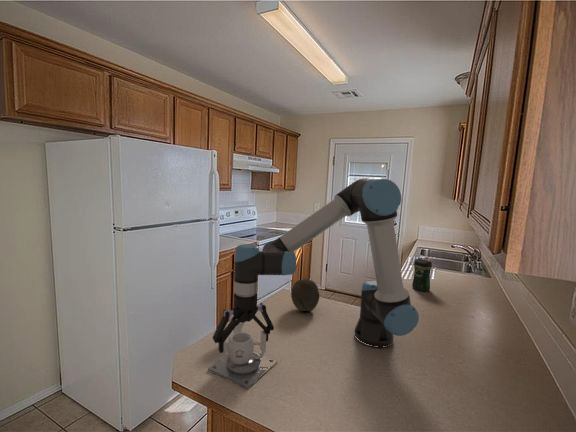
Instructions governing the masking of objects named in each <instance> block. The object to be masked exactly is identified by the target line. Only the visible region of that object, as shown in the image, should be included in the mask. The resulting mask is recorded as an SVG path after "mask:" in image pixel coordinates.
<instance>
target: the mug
mask: <svg viewBox="0 0 576 432" xmlns="http://www.w3.org/2000/svg"><path fill="white" fill-rule="evenodd" d="M255 345H258V346H259V347H260V346H261V348H262V350H261V353H260V354H261V356H259V357H256V356H254V355H252V354H253V351H254V350H255V349H254V347H255ZM227 355H229V358H230V360H231V361H232V362H233V363H234V364H237V365H242V364H246V363H247V362H248V361H249V360H250V359H251V357H253V358H254V359H260V358H262V357H263V355H265V353H264V347H263V346H262V344H261V343H260V342H257V341H256V342H255V341H254V338H253V335H252V334H250V333H248V332H245V331H244V332H243V331H241V332H238V333H233V334H230V335H229V337H228V341H227Z"/></svg>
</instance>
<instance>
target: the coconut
mask: <svg viewBox="0 0 576 432" xmlns="http://www.w3.org/2000/svg"><path fill="white" fill-rule="evenodd" d="M290 295H291V296H290V297H291V301H292V304H293V305H294V307H295V308H296V309H298V311H300V310H301V311H300V312H302V311H310V312H312V311H314V310H315V309H316V307H317V305H319V301H320V291H319V286H318V284H317V283H316V282H315V281H314V280H313V279H309V278H308V279H306V278H304V279H303V278H302V279H299V280H297V281H296V282H294V284H293V286H292V288H291V292H290Z"/></svg>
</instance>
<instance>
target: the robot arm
mask: <svg viewBox="0 0 576 432" xmlns="http://www.w3.org/2000/svg"><path fill="white" fill-rule="evenodd" d="M401 203H402V194H401V190H400V188H399V187H398V185H397V184H396V183H395V182H393V181H392V180H391V179H388V178H384V177H380V176H378V177H370V178H365V177H364V178H359V179H357V180H355V181H353V182H352V183H350V184H349V185H347V186H346V187H344V189H342V190H341V191H340V192H337V193H336V194H335V195H334V197H333V200H331V201H330V202H328V203H327V204H325V205H324V206H322V207H321V208H320V209H318V210H316V211H315V212H314V213H313V214H310V215H309V216H308V217H306V218H304V220H302V221H301V222H299V223H298V224H296V225H294V227H292V228H291V229H289V230H288V231H287V232H285V233H283V234H282V235H280V236H279V237H278V238H276V239H275V240H273V241H268V242H266V243H265V244H264V245H263V247H262V251H260V247H259V246H258V245H257V244H254V243H252V244H251V243H246V244H245V243H243V244H239V245H237V246H236V247H235V251H234V263H233V264H234V265H233V266H234V269H233V270H234V271H233V272H234V277H233V278H234V279H233V280H234V281H233V292H234V293H233V308H232V309H231V310H230V309H229V310H228V309H226V308H225V309H223V313H222V317H221V319H220V320H219V321H220V322H219V324H218V325H217V327H216V329H215V331H214V334H213V336H212V340H213V341H214V344H218V352H219V353H220V356H221V357H220V359H221V360H222V361H223V363H226V355H227V342H226V340H227V339H229V337H230V336H231V335H232V334H231V333H233V330H234V328H235V327H236V326H237V325H238V324H239V323H240V322H241V323H244V322H245V323H247V322H251V321H252V320H253V321H254V322H255V323H257V325H258V326H259V327H260V328H261V329H262V330H260V342H259V343H261V344H262V346H263V347H264V354H265V353H267V351H266V349H267V342H269V335H270V334H271V331H274V329H275V327H274V325H273V322H272V321H271V318H270V316H269V314H268V311H267V306H266V304H265V303H263V302H260V304H259V305H258V290H259V289H258V287H259V276H283V277H285V276H292V275H294V274H295V273H296V271H297V256H296V253H295V252H296V251H297V250H299V249H300V248H302V247H304V246H305V245H306V244H307V243H309V242H311V241H312V240H314V239H315V238H317V237H318V236H319V235H321V234H322V233H324V232H325V231H327V230H328V229H330V228H331V227H332V226H334V225H335V224H337V223H338V222H339V221H341V220H342V219H344V218H345V217H352V216H353V215H355V214H356V213H360V220H361V222H362V223H363V224H365V225H366V227H367V234H368V239H369V245H370V251H371V258H372V263H373V269H374V275H375V280H367V281H364V282H363V283H362V285H361V292H360V293H361V295H360V312H359V318H358V321H357V323H356V325H355V326H354V327H355V328H354V333H355V336H356V337H357V338H358V339H359V340H360V341H362V342H364V343H366V344H369V345H372V346H378V347H383V346H388V345H390V344H392V343H393V344H394V336H397V337H402V336H406V335H409V334H411V332H414V331H413V330H414V329H415V328H416V327H417V326H418V324H419V320H420V318H419V317H420V315H419V311H418V310H417V308H416V307H415V306H414V305H412V302H411V297H410V292H409V290H408V289H406V288H405V287H404V283H403V276H402V269H401V263H400V256H399V249H398V244H397V237H396V231H395V224H394V221H395V220H396V219H397V217H398V209H399V206H401ZM258 311H259V312H260V313H261V316H262V317H263V319H264V321H265V324H266V325H265V324H264V323H263V322H262V321H261V320H260V319H259V318H258V317H257V316H256V315H257V312H258ZM232 314H233V315H234V316H233V318H232V319H231V322H230V317H231V315H232ZM236 319H237V320H236ZM228 322H229V323H228ZM245 323H244V324H245ZM354 333H353V334H354ZM355 336H354V337H355ZM393 344H392V345H393ZM259 349H260V351H262V348H261V346H260V345H259Z"/></svg>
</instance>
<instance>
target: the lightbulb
mask: <svg viewBox="0 0 576 432" xmlns="http://www.w3.org/2000/svg"><path fill="white" fill-rule="evenodd" d="M233 316H234V315H233V314H232V315H231V317H230V318H229V323H230V322H231V319H232V318H233ZM236 320H237V319H236ZM245 323H246V322H244V323H241V322H240V323H239V324H238V325H237V326H236V327H235V328H234V330H233V331H232V333H233V334H234V333H238V332H243V331H242V330H243V327H244V325H245Z"/></svg>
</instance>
